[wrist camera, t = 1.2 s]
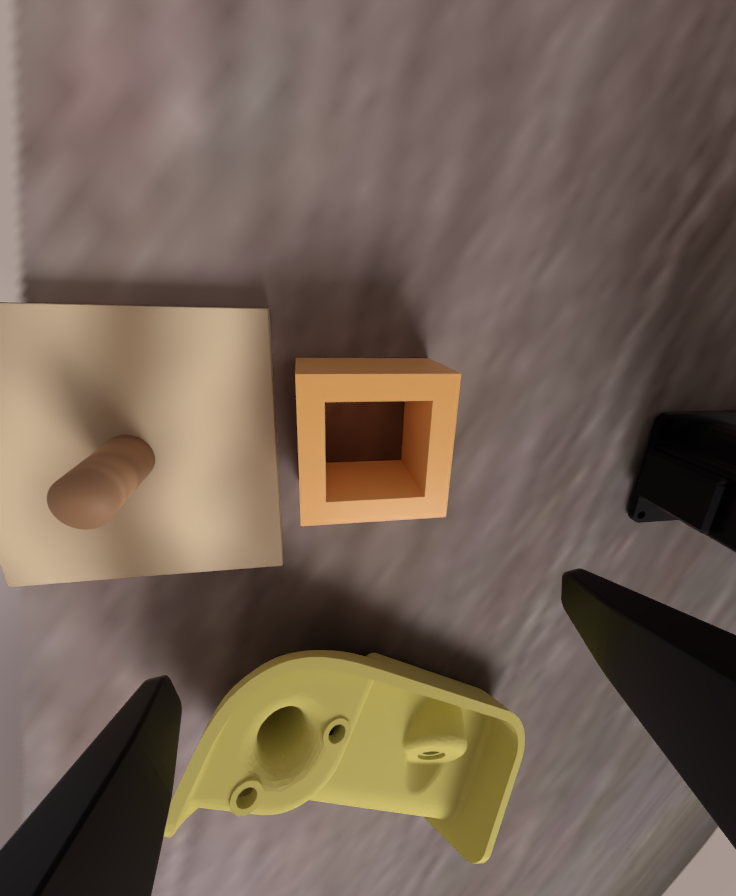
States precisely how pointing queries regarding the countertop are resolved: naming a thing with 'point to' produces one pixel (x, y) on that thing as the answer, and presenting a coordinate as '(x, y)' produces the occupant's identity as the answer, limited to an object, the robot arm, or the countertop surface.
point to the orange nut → (377, 482)
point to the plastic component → (358, 746)
